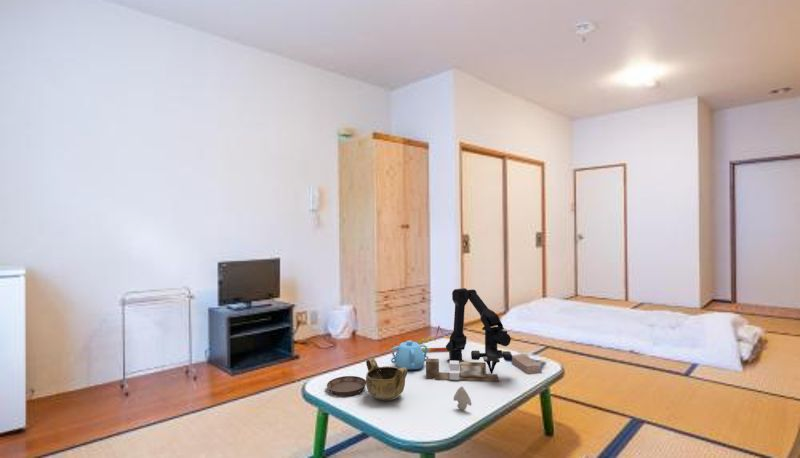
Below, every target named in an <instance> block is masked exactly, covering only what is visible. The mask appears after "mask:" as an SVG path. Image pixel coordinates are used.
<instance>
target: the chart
mask: <svg viewBox="0 0 800 458" xmlns="http://www.w3.org/2000/svg"><path fill="white" fill-rule="evenodd" d="M440 326H441V325H438V327H437V331H436V334H435V337H433V336H431V335H429V336H428V337H427V338H426V339H424V338H420V340H419V341H418V342H417V343H418V344H419V345H421V343H422V342H424V343H428V341H430V339H432V340H433V341H434V342H436V341H437V338H438V333H439V330H440V332H441V334H442V336H443V337H444V338H446V339H450V336H451V335H449V336H447V335H444V333H443V331H442V329H441V327H440ZM421 349H422V351H423V354H424V353H425V347H423V348H422V347H421ZM427 349H428V350H427V353H428V354H429V353H449V351H448V350H446V347H431V348H429V347H427Z"/></svg>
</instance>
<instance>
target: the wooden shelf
mask: <svg viewBox="0 0 800 458" xmlns="http://www.w3.org/2000/svg"><path fill="white" fill-rule="evenodd" d="M425 359H426V361H425V379H428V380H429V379H432V380H434V381H452V382H453V381H455V382H456V381H458V382H481V383H482V382H484V383H485V382H486V383H488V382H489V383H490V382H491V383H499V382H500V379H499V375H498V373H492V374H491V373H486V377H460V372H459V380H450V372H444V371H443V372H442V371H441V372H440V359H439V358H429V357H428V358H427V357H426V358H425Z"/></svg>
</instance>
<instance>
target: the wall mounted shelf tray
mask: <svg viewBox="0 0 800 458" xmlns="http://www.w3.org/2000/svg"><path fill="white" fill-rule="evenodd" d="M486 366H487V362H484V361H482V362H478V361H475V362H473V361H463V362H460V363H459V373H460V377H486V374H487V367H486Z"/></svg>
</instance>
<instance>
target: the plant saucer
mask: <svg viewBox="0 0 800 458" xmlns="http://www.w3.org/2000/svg"><path fill="white" fill-rule="evenodd" d="M326 387H327V389H328V390H329V392H330V393H332V394H333V395H334V396H335V395H337V396H341V397H343V396H344V397H345V396H347V397H348V396H353V395H356V394H359V393H360V392H362V390H363V389H364V388H365V387H366V378H363V377H360V376H356V375H345V376H339V377H335V378H333V379H330V380H329V381H328V382H326Z"/></svg>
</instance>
